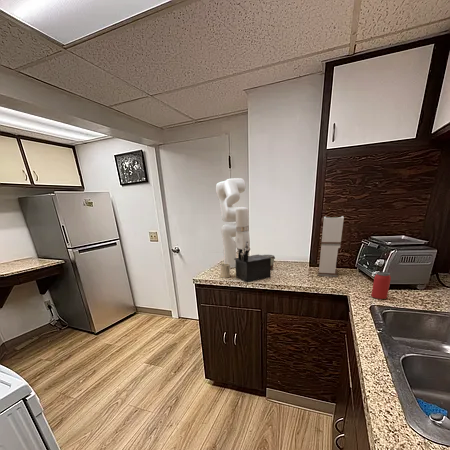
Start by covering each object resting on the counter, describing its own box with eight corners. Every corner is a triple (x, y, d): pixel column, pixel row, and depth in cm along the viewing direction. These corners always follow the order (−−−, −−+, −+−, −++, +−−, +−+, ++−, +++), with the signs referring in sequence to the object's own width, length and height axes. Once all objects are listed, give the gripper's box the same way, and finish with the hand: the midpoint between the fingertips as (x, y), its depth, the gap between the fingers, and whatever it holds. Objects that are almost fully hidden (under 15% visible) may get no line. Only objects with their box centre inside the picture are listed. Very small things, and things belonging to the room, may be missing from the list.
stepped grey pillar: (336, 276, 153) (343, 217, 140) (318, 275, 157) (323, 218, 144) (336, 271, 163) (343, 216, 150) (319, 270, 167) (324, 216, 154)
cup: (219, 276, 168) (218, 264, 165) (227, 274, 170) (226, 263, 167) (223, 278, 163) (223, 266, 160) (231, 276, 165) (231, 265, 162)
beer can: (386, 300, 116) (391, 276, 111) (370, 298, 119) (374, 274, 114) (386, 296, 121) (391, 272, 116) (371, 294, 124) (375, 270, 120)
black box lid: (245, 263, 147) (245, 255, 145) (234, 259, 159) (234, 251, 157) (270, 259, 155) (271, 251, 153) (258, 255, 166) (258, 248, 164)
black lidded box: (247, 282, 152) (246, 263, 148) (236, 277, 163) (235, 259, 159) (270, 277, 159) (270, 259, 155) (258, 272, 171) (258, 255, 166)
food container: (274, 267, 180) (274, 254, 177) (274, 270, 175) (275, 256, 171) (257, 268, 182) (257, 254, 178) (257, 270, 176) (257, 256, 172)
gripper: (230, 229, 152) (231, 258, 159) (244, 231, 138) (245, 263, 145) (240, 227, 155) (241, 256, 162) (255, 229, 141) (256, 261, 148)
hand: (243, 259), depth 154 cm, fingers closed on black box lid, 5 cm apart
